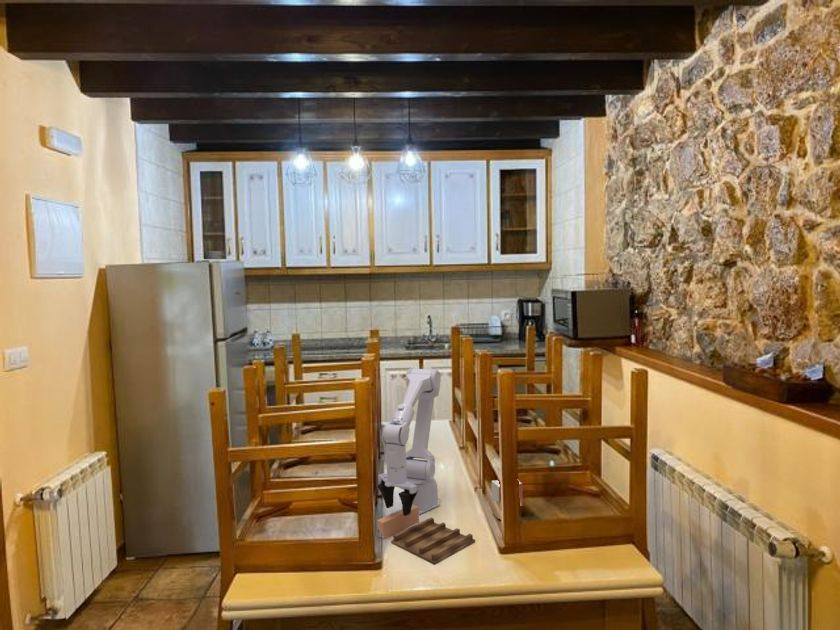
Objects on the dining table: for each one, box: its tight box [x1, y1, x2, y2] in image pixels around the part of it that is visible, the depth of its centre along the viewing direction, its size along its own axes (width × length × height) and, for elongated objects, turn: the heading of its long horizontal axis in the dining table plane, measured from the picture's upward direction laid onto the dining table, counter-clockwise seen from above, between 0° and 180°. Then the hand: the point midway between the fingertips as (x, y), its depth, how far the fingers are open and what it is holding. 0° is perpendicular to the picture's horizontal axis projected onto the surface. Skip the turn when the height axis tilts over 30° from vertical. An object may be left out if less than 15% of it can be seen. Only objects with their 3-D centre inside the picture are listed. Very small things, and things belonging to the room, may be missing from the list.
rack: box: [390, 517, 476, 566], centre depth 157 cm, size 16×17×2 cm
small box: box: [491, 479, 524, 507], centre depth 171 cm, size 8×6×10 cm
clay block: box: [376, 505, 420, 540], centre depth 165 cm, size 14×2×5 cm, turn 134°
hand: (398, 510), depth 165 cm, fingers open, 7 cm apart
